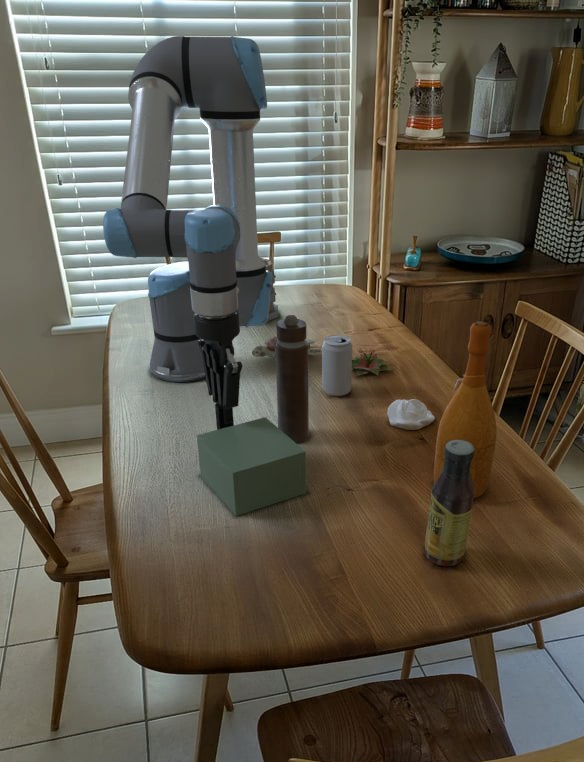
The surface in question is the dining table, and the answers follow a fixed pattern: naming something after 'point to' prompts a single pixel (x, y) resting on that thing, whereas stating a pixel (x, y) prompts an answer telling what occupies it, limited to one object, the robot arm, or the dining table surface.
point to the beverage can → (336, 365)
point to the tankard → (272, 307)
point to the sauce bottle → (451, 506)
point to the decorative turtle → (269, 348)
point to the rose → (409, 414)
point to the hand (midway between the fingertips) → (226, 435)
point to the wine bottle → (471, 413)
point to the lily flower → (369, 364)
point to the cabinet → (252, 465)
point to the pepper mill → (292, 378)
